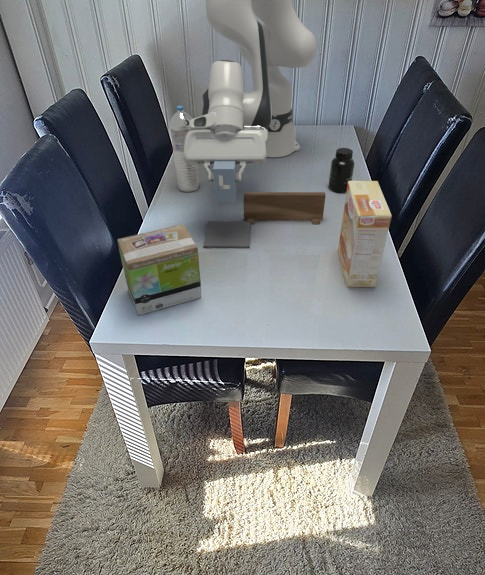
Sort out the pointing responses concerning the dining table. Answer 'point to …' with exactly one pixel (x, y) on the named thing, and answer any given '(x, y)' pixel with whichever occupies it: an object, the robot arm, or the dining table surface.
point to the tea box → (161, 268)
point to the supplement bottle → (341, 170)
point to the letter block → (224, 181)
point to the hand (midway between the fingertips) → (224, 181)
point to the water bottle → (184, 171)
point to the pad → (227, 234)
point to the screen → (284, 206)
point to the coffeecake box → (363, 233)
